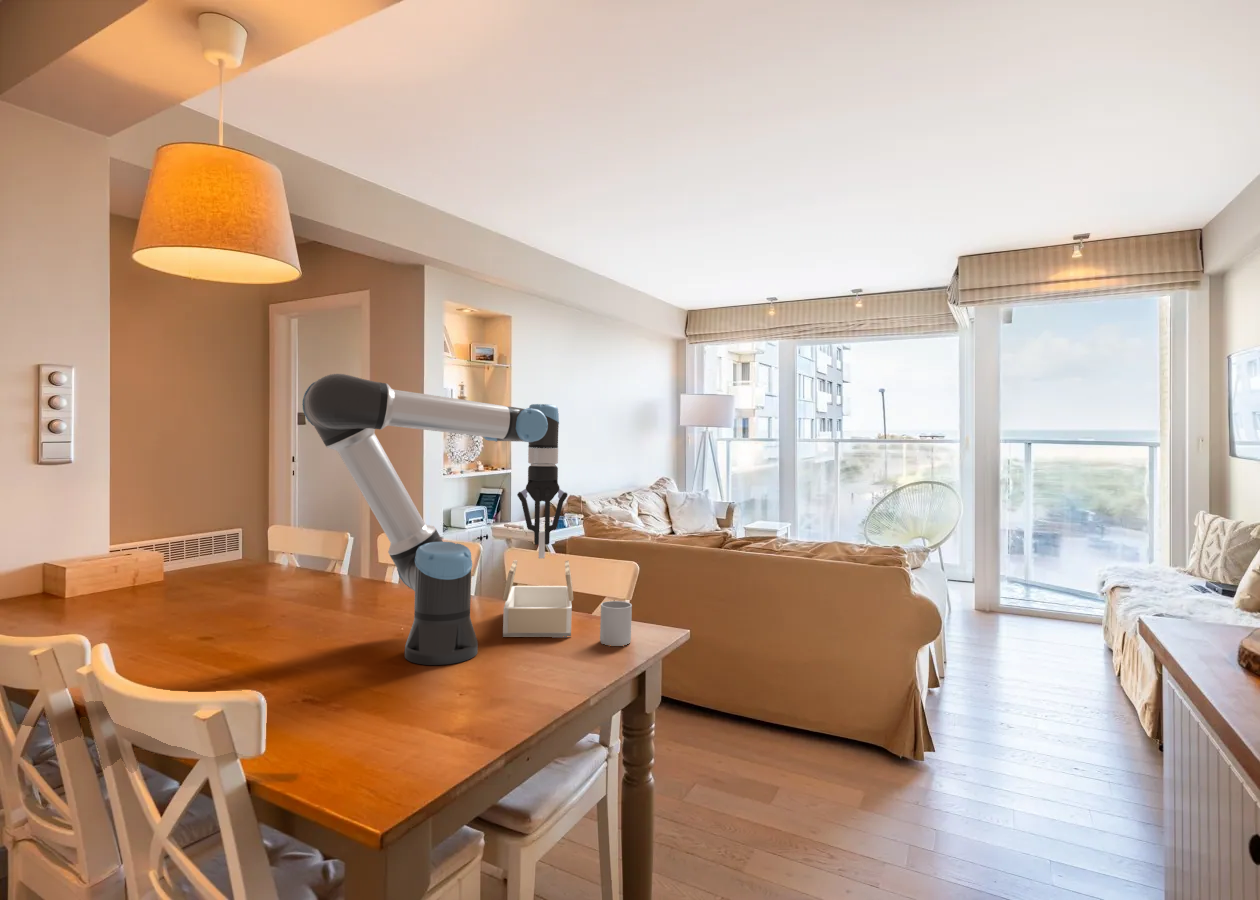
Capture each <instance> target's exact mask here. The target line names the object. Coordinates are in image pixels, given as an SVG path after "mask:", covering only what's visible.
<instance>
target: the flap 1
mask: <svg viewBox="0 0 1260 900" xmlns="http://www.w3.org/2000/svg"><path fill="white" fill-rule="evenodd" d="M517 565H518V560H517V559H513V561H512V564H511V566H510V568H509V571H508V574H507V578H506V582H505V588H504V592H503V597H502V601H505V602H506V601H507V600H508V597H509V594H510V591H511V588H512V586H514V579H515V575H516V570H517Z"/></svg>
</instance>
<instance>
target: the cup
mask: <svg viewBox="0 0 1260 900" xmlns="http://www.w3.org/2000/svg"><path fill="white" fill-rule="evenodd" d="M632 607H633V605H632V603H630V602H628V601H622V600H609V601H608V600H607V601H604V602H603V601H602V603H601V604H600V623H599V624H600V627H599V628H600V629H599V630H600V631H599V640H600V641H599V642H600V643H601V645H603V644H605V645H611V646H623V645H627V644H629V643H630V644H631V640H632ZM630 644H629V645H630ZM605 645H604V646H605ZM627 646H628V645H627ZM623 647H624V646H623Z"/></svg>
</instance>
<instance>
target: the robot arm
mask: <svg viewBox="0 0 1260 900" xmlns="http://www.w3.org/2000/svg"><path fill="white" fill-rule="evenodd" d="M302 411H303V414H304V416H305V418H306V420H307V421H308V422H309V423H310V424H311V425H312V426H313V427H314V429H315V430H316V432H317V434H318V435H319V438H320V439H321V441H322V442H323V444H324V446H325V447H326V448H327V449H331V450H334V451H336V452H337V453H338V455H339V456H340V458H341V460H342V462H343V464H344V465H345V467H346V469H347V471H348V472H349V474H350V475H351V477H352V478H353V481H354V482H355V484H356V486H357V487H358V489H359V491H360V492H361V494H362V496H363V497H364V500H365V502H366V503H367V505H368V506H369V508H370V510H371V511H372V512H371V513H372V514H373V515H374V517H375V518H376V520H377V522H378V523H379V525H380V527H381V529H382V530H383V532H384V534H385V535H386V537H387V539H388V541H389V543H390V545H389V548H388V550H387V551H388V552H387V553H388V555H389V557H390V558H391V560H392V562H393V563H394V565H395V567H396V571H397V574H398V577H399V579H400V580H401V581H402V583H403V584H404V585H405V586H406V587H408V588H410V589H411V590H413V591H414V613H413V614H414V616H413V618H414V619H413V622H412V625H411V628H410V630H409V634H408V637H407V640H406V642H405V646H404V658H405V660H407V661H408V662H410V663H414V664H418V665H425V666H442V665H443V666H444V665H453V664H457V663H462V662H466V661H468V660H470V659H473V658H474V657H476V656H477V654H478V650H479V649H478V646H479V641H478V639H477V635H476V631H475V629H474V625H473V622H472V619H471V602H472V601H471V599H472V598H471V597H472V595H471V594H472V568H473V559H472V552H471V550H470V549H469V547H467V546H466V545H464V544H462V543H456V542H453V541H443V539H442V537H441V535H440V534H439V533H438V530H437V528H436V527H435V526H434V525H430V524H427V523H425V521H424V519H423V518H422V515H421V513H420V512H419V511H418V509H417V506H416V504H415V503H414V501H413V500H412V497H411V496H410V494H409V492H408V490H407V489H406V487H405V485H404V483H403V482H402V480H401V478H400V476H399V475H398V473H397V471H396V469H395V468H394V464H392V462H391V461H390V460H391V459H390V458H389V456H388V455H387V453H386V451H385V450H384V447H383V445H382V443H380V441H379V440H380V439H378V437H377V434H376V433H375V431H376V430H381V431H382V430H384V429H385V428H386V427H387V426H389V427H397V428H398V427H399V428H406V429H414V430H424V431H431V432H432V431H433V432H442V433H448V434H449V433H450V434H458V435H466V436H474V437H483V439H484V440H485V441H489V442H491V441H492V442H524V443H528V446H527V447H528V449H527V452H528V454H527V455H528V461H527V462H528V464H530V465H528V467H527V484H526V485H525V488H524V489H523V490H521V491H518V492H517V497H518V498H519V500H520V502H521V507H522V509H523V514H524V519H525V524H526V528H527V530H529V531H532V532H533V535H534V536H533V537H534V541H533V542H534V545H535V546H536V545H537V546H538V559H545V557H546V545H547V546H549V544H550V540H551V538H550V534H551V532H553V531H555V530H557V528H558V523H559V520H560V516H561V513H562V512H561V511H562V509H563V505H564V502H565V500H566V499H567V497H568V492H567V491H564V490H562V489H561V488H560V485H559V482H558V479H559V476H558V475H559V472H558V471H559V467H558V466H557V464H558V463H559V428H560V427H559V425H560V420H559V419H560V418H559V416H560V415H559V408H558V406H557V405H555V404H547V403H544V404H543V403H534V404H533V403H532V404H530V405H529V407H525V408H524V407H523V408H520V407H515V406H507V405H501V404H494V403H488V402H480V401H474V400H467V399H461V398H455V397H446V396H440V395H434V394H427V393H420V392H413V391H407V390H398V389H393V388H392V387H391V386H390V385H389V384H388V383H385V382H379V381H374V380H368V379H364V378H360V377H356V376H354V375H349V374H345V373H332V374H331V373H330V374H327V375H325V376H322V377H321V378H319V379H317V380H315V381H314V382H312V383H311V384H310V385H309V386H308V387H307V389H306V390H305V392H304V394H303V397H302ZM528 494H529V496H530V497H531V498H532V500H533V501H534V524H533V522H532V517H531V513H530V509H529V504H528V499H527V498H528ZM557 494H558V495H557ZM556 495H557V498H558V501H557V505H556V508H555V509H556V510H555V513H554V517H553V521H552V524H551V521H550V520H551V518H550V517H551V501H552V500H553V499H554V498H555V496H556ZM541 502H544V531H543V530H542V531H541V530H540V527H541V526H540V525H541V523H540V522H541V516H540V515H541V509H540V508H541Z"/></svg>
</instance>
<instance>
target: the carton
mask: <svg viewBox="0 0 1260 900" xmlns="http://www.w3.org/2000/svg"><path fill="white" fill-rule="evenodd" d="M572 608H573V606H572V601H569V595H568V589H567V585H512V588H511V591H510V594H509V597H508V600H507V601H505V603H504V605H503V618H502V619H503V620H502V623H503V624H502V625H503V626H502V638H503V637H552V638H568V637H567V636H571V637H572V612H573V611H572ZM563 636H564V637H563Z"/></svg>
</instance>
